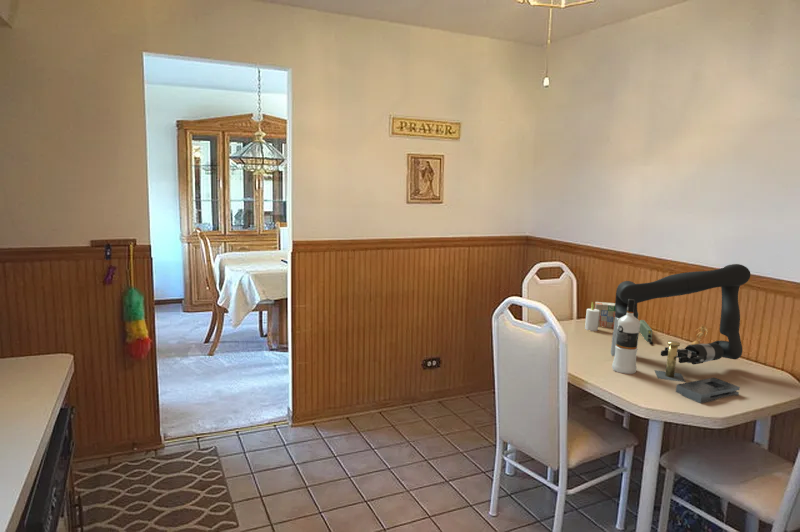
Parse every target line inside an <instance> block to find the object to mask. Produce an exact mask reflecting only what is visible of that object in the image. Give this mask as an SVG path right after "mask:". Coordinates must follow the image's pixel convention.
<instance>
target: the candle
mask: <svg viewBox="0 0 800 532" xmlns="http://www.w3.org/2000/svg"><path fill="white" fill-rule="evenodd" d="M585 313H586V315H585V321H584V322H585V325H584V330H585V329H586V330H585V331H588V330H590V331H589V332H597V331H598V328H599V326H598V321H599V310H597V309H595V303H594V301H591V307H590V308H586V312H585Z"/></svg>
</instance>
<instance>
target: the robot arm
mask: <svg viewBox="0 0 800 532" xmlns="http://www.w3.org/2000/svg"><path fill="white" fill-rule="evenodd" d="M750 278H751V271H750V269H749V268H748V267H747V266H745V265H743V264H740V263H733V264H728V265H725V266H723V267H721V268H717V269H712V270H703V271H702V270H700V271H689V272H688V271H687V272H682V273H681V272H680V273H675V274H674V273H673V274H670V275H667V276H665V277H662V278H660V279H657V280H654V281H651V282H650V281H649V282H645V283H644V282H643V283H635V282H633V281H632V280H631V281H630V280H625V281H622V282H620V283H619V284H618V285H617V288H616V290H615V291H616V292H615V300H614V301H615V321H614V328H613V331H612V336H611V337H612V340H611V347H610V354H611V356H612V357H613V356H614V357H615V348H616V347H615V346H616V340H617V330H618V329H617V327H618V320H619V319H620V318H621V317H623V316H625V315H626V313H627V305H628V299H633V300H635V304H634V313H633V316H634V317H636V318H637V319H638V320H639V312H638V304H640V303H643V302H646V301H651V300H655V299H663V298H670V297H677V296H685V295H690V294H694V293H699V292H704V291H707V290H711V289H716V288H721V308H720V309H721V310H720V311H721V312H720V321H719V322H720V324H719V333H720V334H721V335H723V336H725V337H726V338H727V340H715V341H713V342H709V343H700V344H694V345H691V344H688V345H687V346H685V347H684V348H678V349H677V358H678V364H685V363H687V364H691V365H699V364H703V363H707V362H711V361H718V360H720V359H721V358H725V359H728V360H729V359H730V360H738V359H739V358H741V356H742V354H743V345H742V340H741V339H742V338H741V335H740V325H741V310H740V306H739V305H740V304H739V291H740V287H741V286H743V285H745V284H746V283H747V282H749V280H750ZM668 348H669V346H668V347H664V350H662V349H661V351H660V356H662V357H667V356H668ZM677 358H676V359H677Z"/></svg>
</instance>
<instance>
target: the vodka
mask: <svg viewBox="0 0 800 532" xmlns="http://www.w3.org/2000/svg"><path fill="white" fill-rule="evenodd" d="M634 304H635V300H633V299H628V305H627V313H626V315H625V316H623V317H621V318H620V319H619V320H618V327H617V329H618V330H617V340H616V346H615V347H616V348H615V356H614V358H613V361H612V364H611V368H612V370H613V371H614V372H615V373H616V372H617V373H621V374H626V375H633V374H636V372H637V370H638V369H637V352H638V350H639V349H638V343H639V333H640V332H639V331H640V330H639V328H640V320H639V318H638V319H637V318H636V317H634V316H633V313H634Z"/></svg>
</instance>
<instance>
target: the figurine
mask: <svg viewBox="0 0 800 532" xmlns="http://www.w3.org/2000/svg"><path fill="white" fill-rule="evenodd" d="M698 330H700V331H699V332H698V333H697V334H696V338H697V339H696V340H693V341H692V342H691V344H690V345H694V344H701V342H700V341H701V340H702V337H703V336H704V338H707V337H708V336H707V335H708V333H709V331H708V327H707V326H706V325H704V324H701V325H700V327H698V328H696V329H695V331H694V333H696V332H697V331H698ZM705 332H706V333H705ZM704 334H705V335H704Z"/></svg>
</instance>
